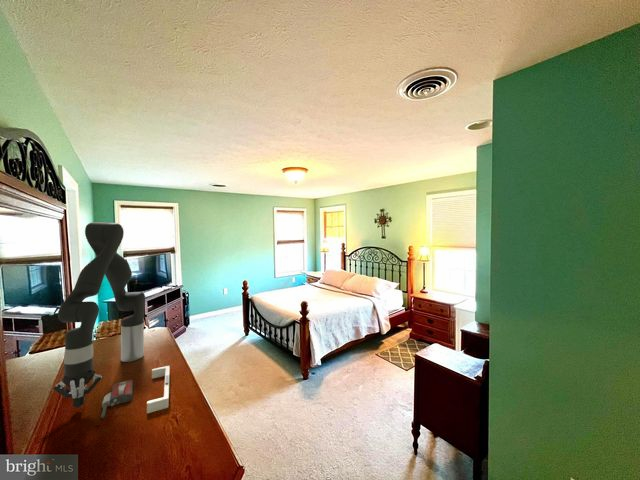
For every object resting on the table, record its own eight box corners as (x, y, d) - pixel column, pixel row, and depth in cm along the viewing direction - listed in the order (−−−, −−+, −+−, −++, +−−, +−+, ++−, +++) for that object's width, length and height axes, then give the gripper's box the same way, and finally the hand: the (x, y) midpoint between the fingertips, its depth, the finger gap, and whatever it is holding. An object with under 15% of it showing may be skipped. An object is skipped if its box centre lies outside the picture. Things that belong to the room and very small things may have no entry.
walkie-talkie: (106, 391, 101) (98, 422, 85) (106, 380, 101) (98, 409, 85) (133, 384, 106) (130, 412, 90) (133, 374, 106) (131, 400, 89)
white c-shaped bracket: (152, 376, 111) (152, 367, 111) (169, 373, 115) (169, 364, 115) (146, 413, 89) (146, 402, 89) (168, 407, 92) (168, 396, 92)
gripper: (105, 349, 96) (105, 394, 96) (57, 357, 89) (57, 406, 89) (100, 358, 89) (100, 406, 90) (48, 367, 83) (48, 419, 83)
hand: (78, 406), depth 90 cm, fingers closed
